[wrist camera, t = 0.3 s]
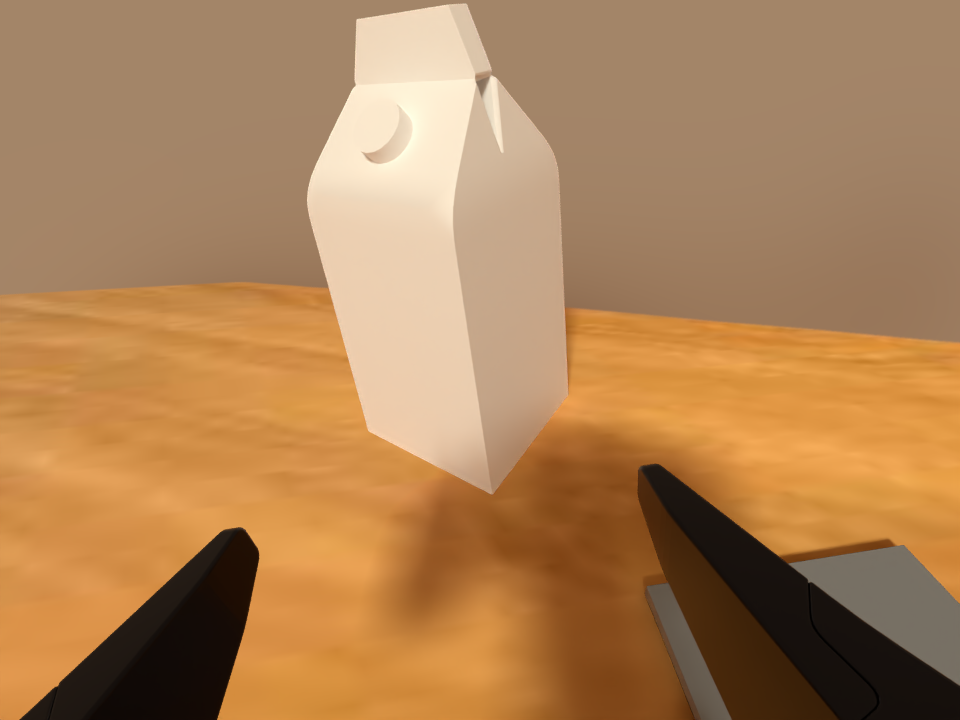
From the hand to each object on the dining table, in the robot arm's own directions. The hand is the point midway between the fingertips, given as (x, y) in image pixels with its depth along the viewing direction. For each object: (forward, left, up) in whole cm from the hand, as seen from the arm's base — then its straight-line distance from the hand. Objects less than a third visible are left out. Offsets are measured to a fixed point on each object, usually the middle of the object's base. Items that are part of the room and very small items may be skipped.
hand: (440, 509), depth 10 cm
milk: (+21, -1, -17) cm, 27 cm away
